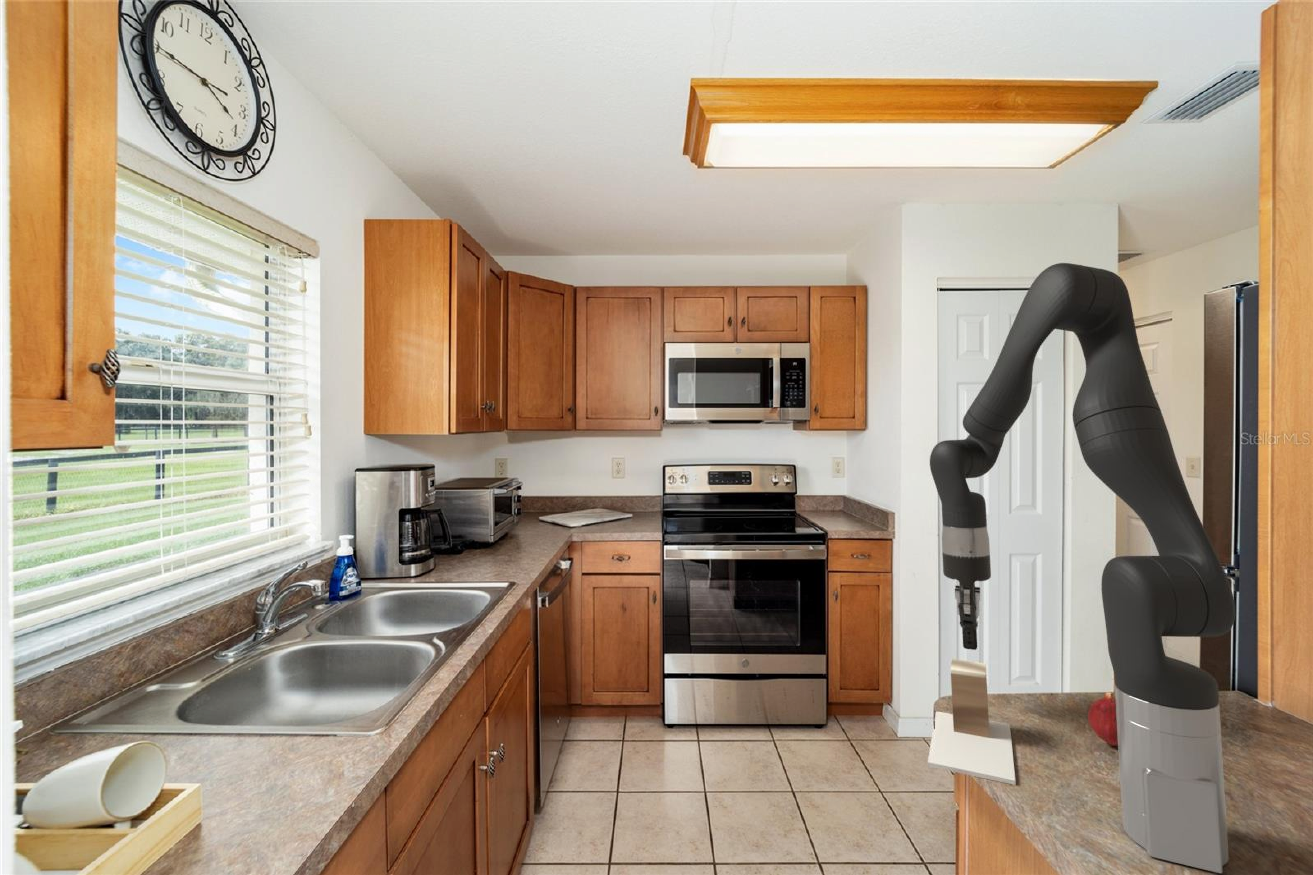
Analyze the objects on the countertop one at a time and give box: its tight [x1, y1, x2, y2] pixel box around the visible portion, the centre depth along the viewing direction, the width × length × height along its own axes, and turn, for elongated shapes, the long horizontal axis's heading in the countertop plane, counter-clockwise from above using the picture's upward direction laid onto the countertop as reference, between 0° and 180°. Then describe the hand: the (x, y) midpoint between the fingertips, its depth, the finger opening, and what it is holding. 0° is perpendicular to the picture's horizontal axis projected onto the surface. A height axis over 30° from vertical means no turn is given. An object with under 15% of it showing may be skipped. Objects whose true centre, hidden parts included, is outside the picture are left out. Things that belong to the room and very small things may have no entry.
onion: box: [1087, 691, 1118, 747], centre depth 88 cm, size 6×6×8 cm
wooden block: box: [950, 658, 990, 738], centre depth 94 cm, size 5×5×10 cm
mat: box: [927, 711, 1016, 786], centre depth 90 cm, size 18×11×1 cm, turn 150°
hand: (970, 647), depth 102 cm, fingers closed
